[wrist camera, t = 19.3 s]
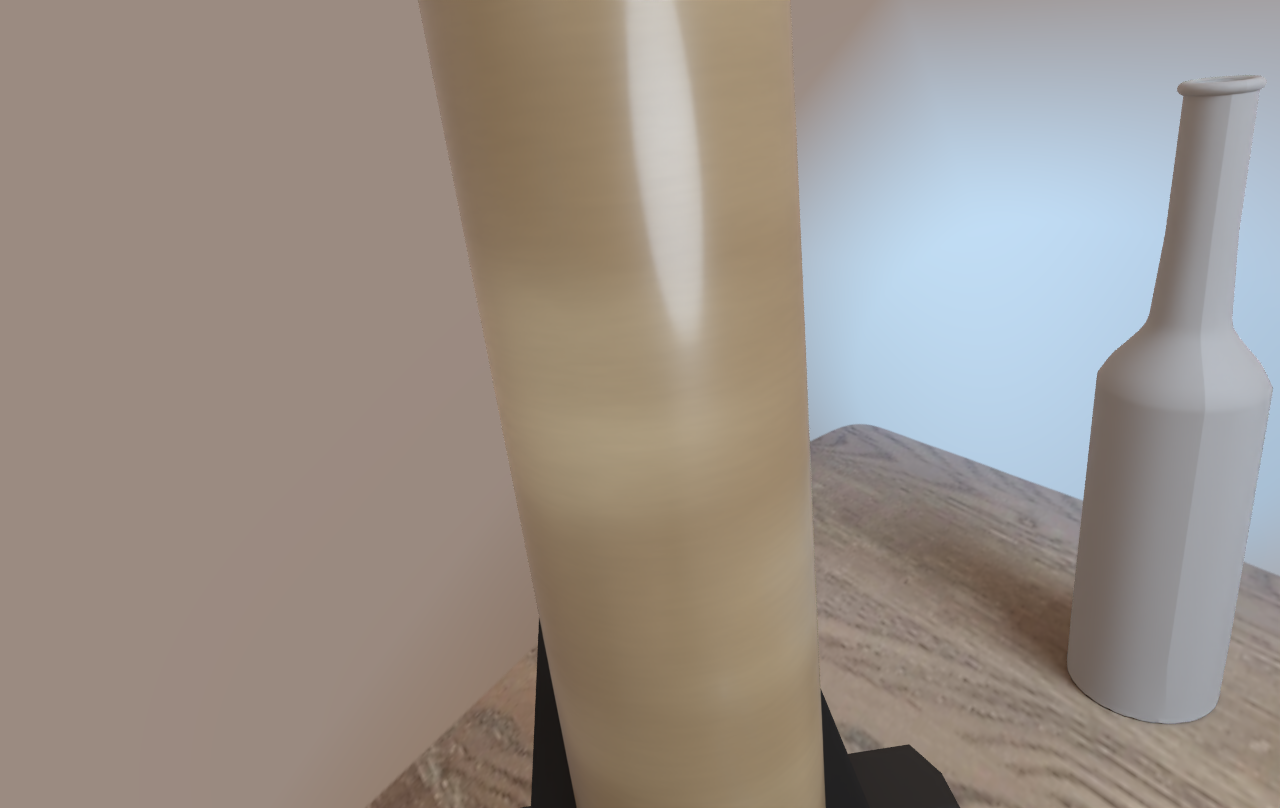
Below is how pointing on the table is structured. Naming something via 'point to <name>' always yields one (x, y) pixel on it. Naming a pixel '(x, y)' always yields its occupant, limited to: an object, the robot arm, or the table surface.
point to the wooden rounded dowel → (649, 377)
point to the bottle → (1175, 446)
